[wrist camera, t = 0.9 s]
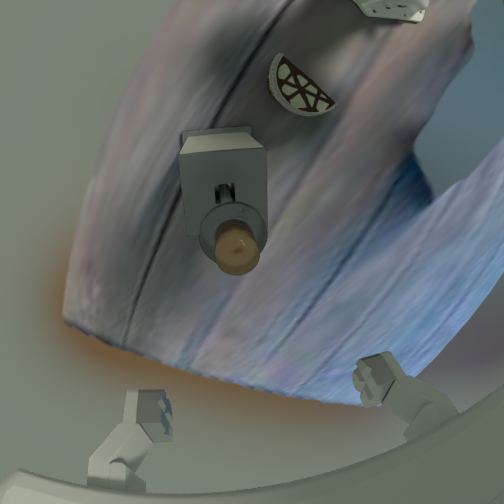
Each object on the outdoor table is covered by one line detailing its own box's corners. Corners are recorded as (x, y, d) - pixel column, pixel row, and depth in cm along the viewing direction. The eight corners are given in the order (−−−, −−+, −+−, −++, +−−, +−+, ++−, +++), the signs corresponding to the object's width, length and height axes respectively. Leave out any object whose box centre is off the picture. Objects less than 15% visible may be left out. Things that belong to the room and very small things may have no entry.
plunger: (248, 155, 36) (286, 207, 20) (250, 205, 39) (283, 289, 23) (193, 160, 35) (182, 217, 19) (199, 210, 39) (196, 299, 22)
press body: (250, 125, 48) (274, 140, 31) (252, 188, 54) (275, 234, 37) (182, 131, 47) (168, 149, 30) (188, 194, 53) (181, 244, 36)
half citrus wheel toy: (245, 84, 44) (254, 80, 35) (267, 59, 42) (281, 51, 33) (297, 126, 49) (316, 133, 40) (318, 103, 47) (341, 105, 39)
